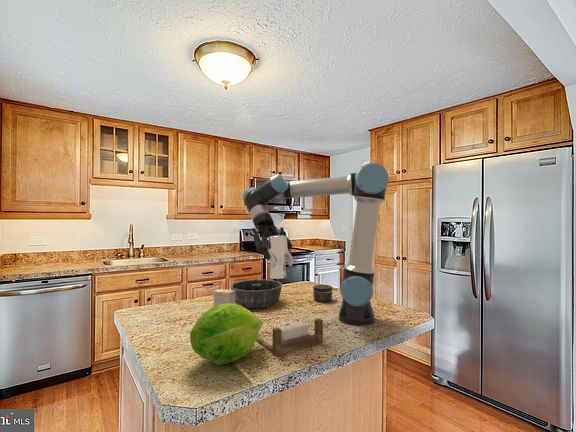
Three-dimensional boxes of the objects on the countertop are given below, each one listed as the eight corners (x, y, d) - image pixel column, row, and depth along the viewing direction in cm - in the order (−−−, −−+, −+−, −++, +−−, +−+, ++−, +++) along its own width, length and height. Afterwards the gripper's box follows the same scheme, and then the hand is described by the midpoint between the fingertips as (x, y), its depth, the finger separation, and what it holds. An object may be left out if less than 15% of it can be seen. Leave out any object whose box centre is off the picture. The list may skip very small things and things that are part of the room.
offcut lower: (274, 346, 104) (274, 337, 104) (303, 338, 111) (303, 330, 111) (280, 350, 101) (280, 341, 101) (310, 342, 107) (310, 333, 107)
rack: (246, 337, 115) (246, 312, 115) (289, 328, 125) (289, 305, 125) (275, 359, 97) (275, 330, 97) (322, 346, 107) (322, 320, 107)
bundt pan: (241, 315, 142) (241, 292, 142) (223, 301, 165) (223, 282, 165) (291, 306, 155) (291, 286, 155) (268, 295, 178) (268, 277, 178)
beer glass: (285, 279, 110) (285, 236, 110) (266, 278, 111) (265, 236, 111) (289, 275, 117) (289, 235, 117) (271, 275, 118) (270, 235, 118)
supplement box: (236, 321, 133) (236, 290, 133) (229, 324, 129) (229, 292, 129) (220, 318, 137) (220, 288, 137) (213, 321, 132) (213, 290, 132)
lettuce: (279, 357, 99) (279, 302, 99) (207, 386, 82) (207, 320, 82) (245, 340, 112) (245, 292, 112) (177, 362, 95) (177, 306, 95)
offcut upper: (277, 336, 104) (277, 327, 104) (300, 330, 110) (300, 322, 110) (283, 340, 101) (283, 331, 101) (307, 333, 107) (307, 324, 107)
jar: (333, 303, 160) (333, 288, 160) (313, 303, 161) (313, 288, 161) (331, 298, 170) (331, 284, 170) (312, 298, 171) (312, 284, 171)
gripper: (279, 224, 132) (301, 268, 118) (236, 225, 122) (255, 274, 108) (286, 212, 128) (309, 256, 114) (241, 211, 117) (262, 260, 103)
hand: (283, 264), depth 111 cm, fingers closed on beer glass, 7 cm apart
